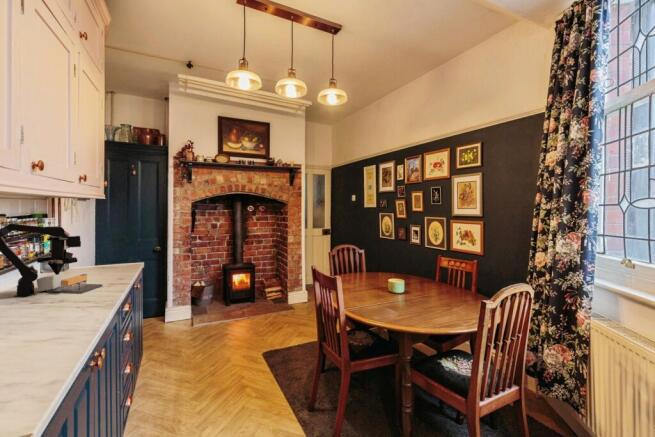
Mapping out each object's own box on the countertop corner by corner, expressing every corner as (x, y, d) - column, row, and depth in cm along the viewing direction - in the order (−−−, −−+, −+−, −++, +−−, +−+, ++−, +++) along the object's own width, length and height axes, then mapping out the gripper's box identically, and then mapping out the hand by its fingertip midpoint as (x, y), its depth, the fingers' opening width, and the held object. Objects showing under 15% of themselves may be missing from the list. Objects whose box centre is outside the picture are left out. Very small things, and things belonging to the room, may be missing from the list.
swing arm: (82, 279, 186) (82, 274, 186) (89, 279, 186) (89, 274, 186) (60, 285, 170) (60, 279, 170) (67, 285, 170) (67, 280, 170)
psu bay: (82, 293, 171) (82, 286, 170) (46, 292, 170) (46, 285, 170) (102, 286, 187) (102, 279, 186) (70, 285, 186) (70, 279, 186)
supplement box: (47, 275, 181) (36, 278, 169) (62, 273, 183) (52, 276, 172) (48, 287, 181) (37, 291, 169) (64, 285, 183) (54, 289, 172)
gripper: (85, 246, 181) (84, 272, 181) (53, 245, 180) (53, 271, 181) (69, 249, 170) (69, 276, 170) (36, 248, 169) (35, 275, 170)
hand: (57, 274), depth 173 cm, fingers closed
